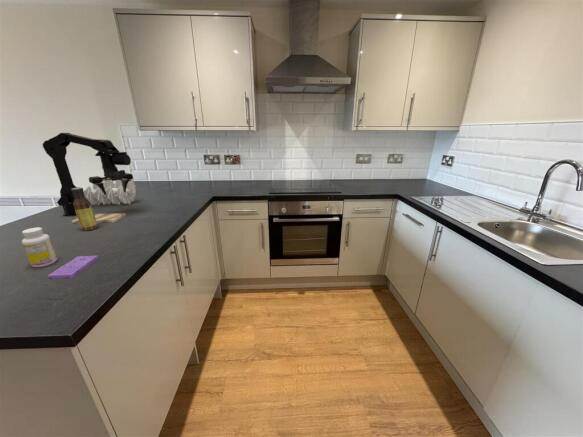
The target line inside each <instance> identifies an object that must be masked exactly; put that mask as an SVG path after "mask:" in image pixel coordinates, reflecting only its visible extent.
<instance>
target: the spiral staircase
mask: <svg viewBox="0 0 583 437" xmlns="http://www.w3.org/2000/svg"><path fill="white" fill-rule="evenodd" d="M130 180H131V181H129V182H128V184H127V188H126V192H124V190H123V186H122V182H121V180H116V181H112V180H106V181H102V183H103V184H104V189H105V191H106V195H104V193H103V192H102V191H101V189H100V188H99V187H98V186H97V185H95V184H93V183H92V187H91V186H90V185H88V186H87V187H86V188H85V189H83V190H84V191H83V192H84V195H85V197H86V198H87V199H88V201H89V202H90V203H91V205H97V206H99V205H101V204H103V205H107V204H108V205H111V203H112V204H114V205H117V206H120V205H121V203H122V204H128V205H130V204H131V203H134V199H135V197H137V196H136V194H137V190H136V186H137V185H136V183H135V180H134V178H133V179H130Z"/></svg>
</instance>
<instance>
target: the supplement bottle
mask: <svg viewBox="0 0 583 437" xmlns="http://www.w3.org/2000/svg"><path fill="white" fill-rule="evenodd" d="M21 232H22V235H23V237H24V238H23V239H22V240H21V244H22V247H23V249H24V251H25V253H26V255H27V259H28V261H29V263H30V266H32V267H33V268H42V267H46V266H50V265H52V264H54V263H55V262H57V260H58V257H57V253H56V251H55V248H54V245H53V243H52V240H51V237H50V235H48V234H45V233H44V230H43V228H42V227H39V226H38V227H31V228H28V229H27V228H26V229H24V230H23V231H21Z"/></svg>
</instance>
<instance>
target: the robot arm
mask: <svg viewBox="0 0 583 437" xmlns="http://www.w3.org/2000/svg"><path fill="white" fill-rule="evenodd" d="M71 143H72V144H78V145H81V146H86V147H89V148H91V149H93V150H95V151H97V153H96V154H95V155H94V156H95V157H100V162H101V169H102V170H103V176H102V177H101V176H98V175H97V176H89V177H88V181H89V182H88V183H90V184H92V185H93V184H95V185H97V186H98V187H99V188H100V189H101V191H102V192H103V193H104V195H106V191H105V189H104V184H103V183H102V181H103V182H104V181H106V180H112V181H113V182H115V181H116V180H121V182H122V186H123V190H124V192H126V188H127V184H128V182H129V181H131V180H130V179H133V180H134V175H133V174H132V173H129V172H126V171H125V170H124V169H120V170H118V169H119V168H118V167H117V166H129V165H131V163H132V162H131V161H132V159H131V157H130V155H129V154H128V153H127V151H119V149H117V148H116V146H115V145H114V143H113V142H112V140H110V139H103V138H102V139H101V138H100V139H99V138H90V137H86V136H81V135H78V134H75V133H74V134H73V133H71V132H60V133H58V134H57V135H56V136H53V137H51V138H49V139H47V140H45V141H43V143H42V148H43V149H44V151H45V154H47V155H48V156H49V157H50V158H51V160H52V162H53V165H54V167H55V170H56V174H57V176H58V179H59V182H60V186H61V188H60V191H59V194H60V198H59V199H58V200H57V201H56V203H57V205H58V206H60V207H62V209H63V212H64V214H62V216H63V217H69V216H70V217H75V216H76V217H77V214H76V211H75V208H74V205H73V203H74V200H75V198H74V194H73V192H72V190H71V189H73V188H80V187H81V186H80V187H79V186H78V187H77V186H76V185H75V184H74V181H73V178H72V175H71V173H70V172H71V171H70V169H69V166H68V163H67V160H66V156H67V153H68V150H67V147H69V145H70V144H71Z"/></svg>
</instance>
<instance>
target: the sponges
mask: <svg viewBox="0 0 583 437" xmlns="http://www.w3.org/2000/svg"><path fill="white" fill-rule="evenodd" d="M98 260H99V256H98V255H86V256H85V255H82V256H81V255H78V256H76V257H75V258H73V259H72V260H70V261H68V262H66V264H64V265H62V266H59V268H57V269H56V270H54V271H52V272H51V273H49V274H48V278H49V279H71V278H74V277H75V276H77V275H78V274H80V273H81V272H82V271H84V270H85V269H86V268H88V267H89V266H91V265H92V264H94V263H95V262H96V261H98Z"/></svg>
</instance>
